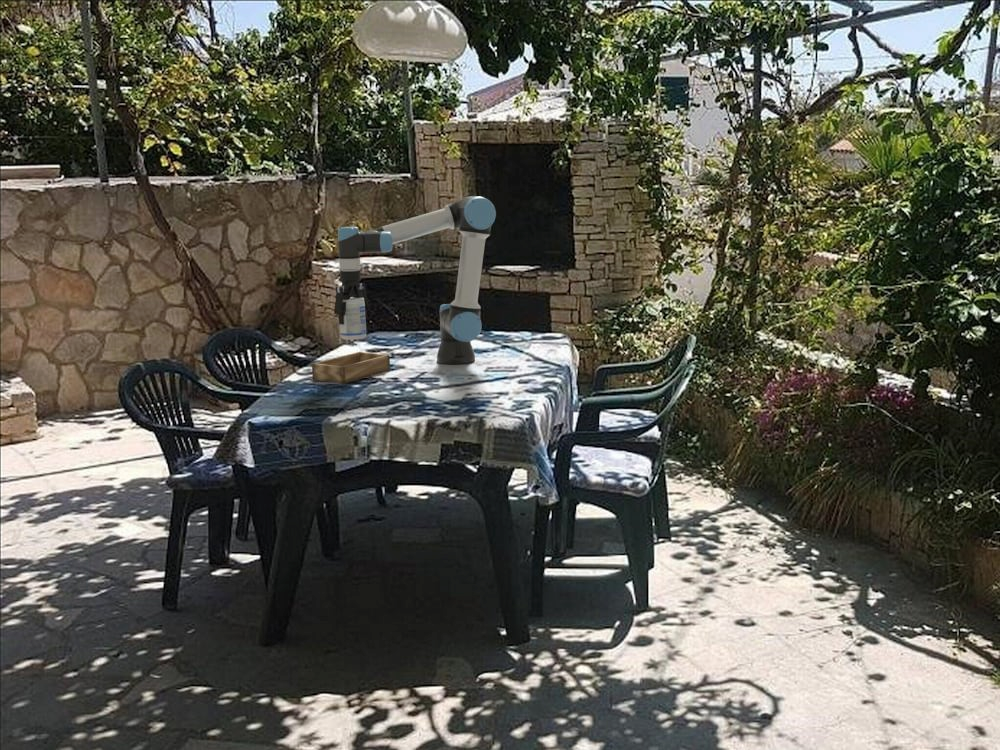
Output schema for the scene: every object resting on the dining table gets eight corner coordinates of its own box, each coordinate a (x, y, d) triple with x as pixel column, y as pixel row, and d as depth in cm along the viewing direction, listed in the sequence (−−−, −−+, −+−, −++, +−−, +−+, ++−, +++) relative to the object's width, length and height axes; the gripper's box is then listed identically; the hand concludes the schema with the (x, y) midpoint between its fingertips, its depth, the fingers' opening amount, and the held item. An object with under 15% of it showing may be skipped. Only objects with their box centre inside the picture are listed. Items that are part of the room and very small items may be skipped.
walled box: (390, 370, 335) (389, 355, 334) (343, 383, 314) (342, 367, 313) (360, 366, 343) (359, 351, 342) (312, 379, 322) (311, 363, 321)
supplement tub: (367, 339, 321) (365, 299, 318) (341, 341, 319) (339, 300, 316) (365, 335, 330) (363, 296, 327) (339, 336, 328) (337, 297, 325)
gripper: (362, 267, 330) (364, 326, 335) (321, 272, 312) (324, 334, 317) (377, 267, 327) (380, 327, 331) (337, 273, 308) (340, 336, 313)
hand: (353, 331), depth 324 cm, fingers closed on supplement tub, 9 cm apart
